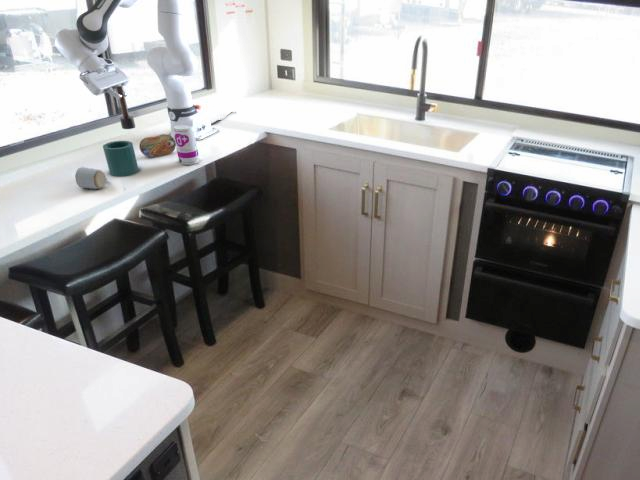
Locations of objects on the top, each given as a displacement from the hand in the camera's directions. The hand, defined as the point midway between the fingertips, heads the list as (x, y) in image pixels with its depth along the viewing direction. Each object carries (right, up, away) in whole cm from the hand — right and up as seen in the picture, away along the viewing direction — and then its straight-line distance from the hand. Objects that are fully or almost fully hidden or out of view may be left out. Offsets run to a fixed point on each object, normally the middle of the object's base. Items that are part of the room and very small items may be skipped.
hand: (123, 97), depth 225 cm
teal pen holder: (-4, -27, +9) cm, 29 cm away
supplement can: (+19, -21, +19) cm, 34 cm away
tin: (+3, -16, +26) cm, 31 cm away
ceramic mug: (-8, -36, -5) cm, 37 cm away
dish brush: (-1, -10, +6) cm, 12 cm away
